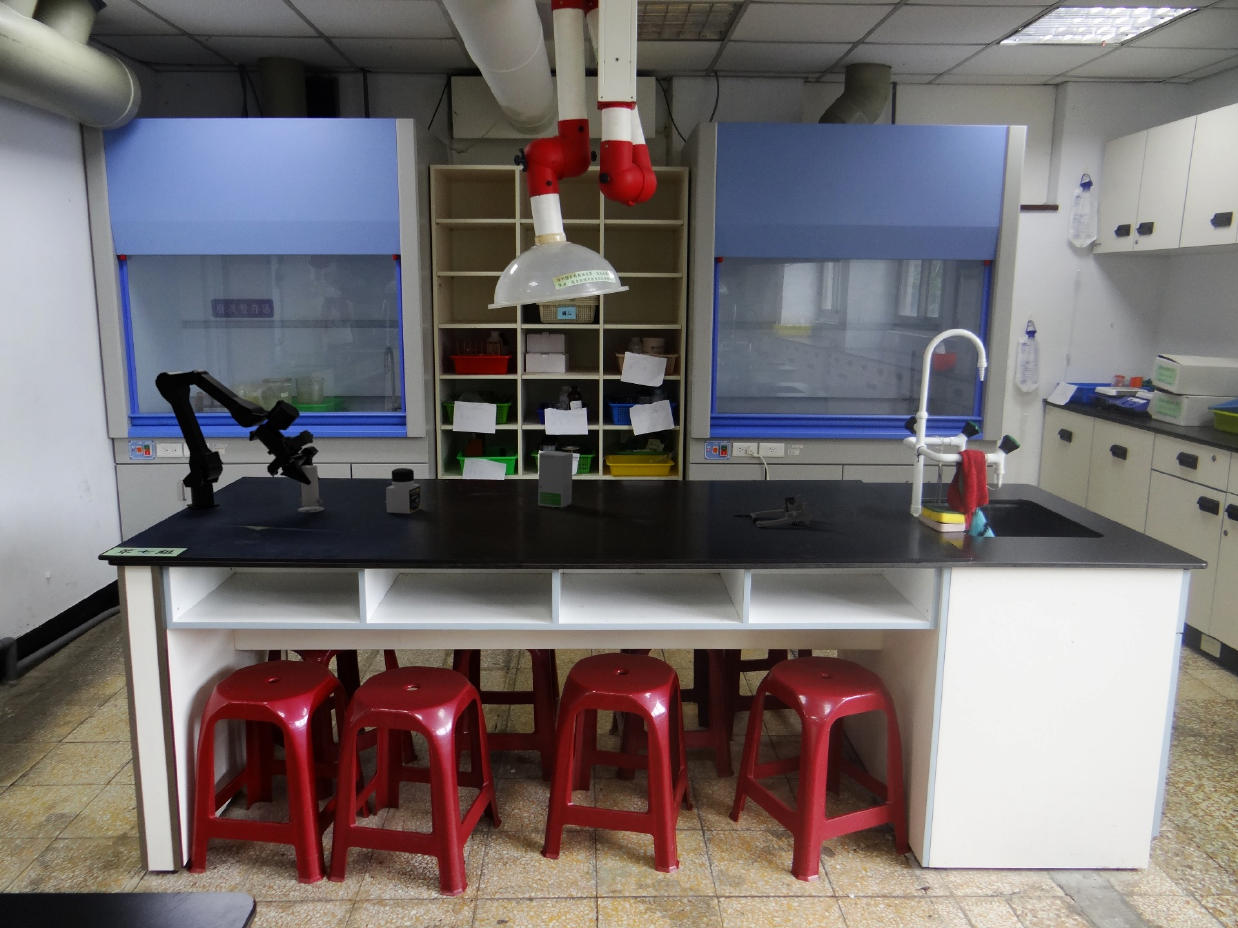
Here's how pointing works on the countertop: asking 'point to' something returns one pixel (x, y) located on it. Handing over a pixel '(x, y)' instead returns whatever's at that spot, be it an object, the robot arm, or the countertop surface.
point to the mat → (256, 527)
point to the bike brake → (790, 509)
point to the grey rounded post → (310, 487)
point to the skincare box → (555, 478)
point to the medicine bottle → (403, 492)
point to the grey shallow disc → (310, 509)
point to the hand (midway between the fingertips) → (314, 482)
